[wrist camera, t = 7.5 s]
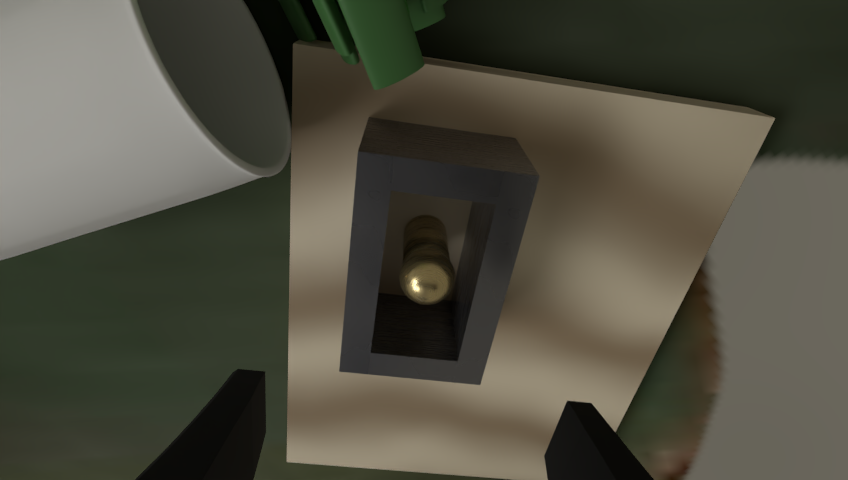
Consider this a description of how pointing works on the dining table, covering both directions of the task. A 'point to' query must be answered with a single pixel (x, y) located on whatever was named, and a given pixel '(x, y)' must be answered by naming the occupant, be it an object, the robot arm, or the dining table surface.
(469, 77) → the birch board
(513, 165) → the dark grey open box
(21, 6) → the mug
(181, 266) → the dining table surface
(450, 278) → the brass knob
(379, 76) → the daffodil flowers
